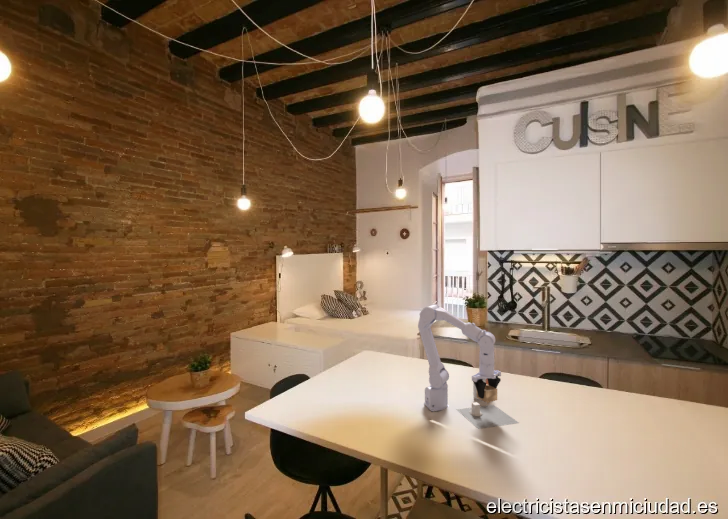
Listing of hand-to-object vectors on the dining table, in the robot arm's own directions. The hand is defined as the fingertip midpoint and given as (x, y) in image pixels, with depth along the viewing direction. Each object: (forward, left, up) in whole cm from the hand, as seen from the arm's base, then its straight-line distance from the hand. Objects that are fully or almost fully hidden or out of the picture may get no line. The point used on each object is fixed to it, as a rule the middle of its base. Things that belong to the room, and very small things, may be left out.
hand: (486, 396), depth 134 cm
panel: (0, 0, -9) cm, 9 cm away
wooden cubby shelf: (0, 0, -1) cm, 1 cm away
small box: (+9, +17, -9) cm, 21 cm away
